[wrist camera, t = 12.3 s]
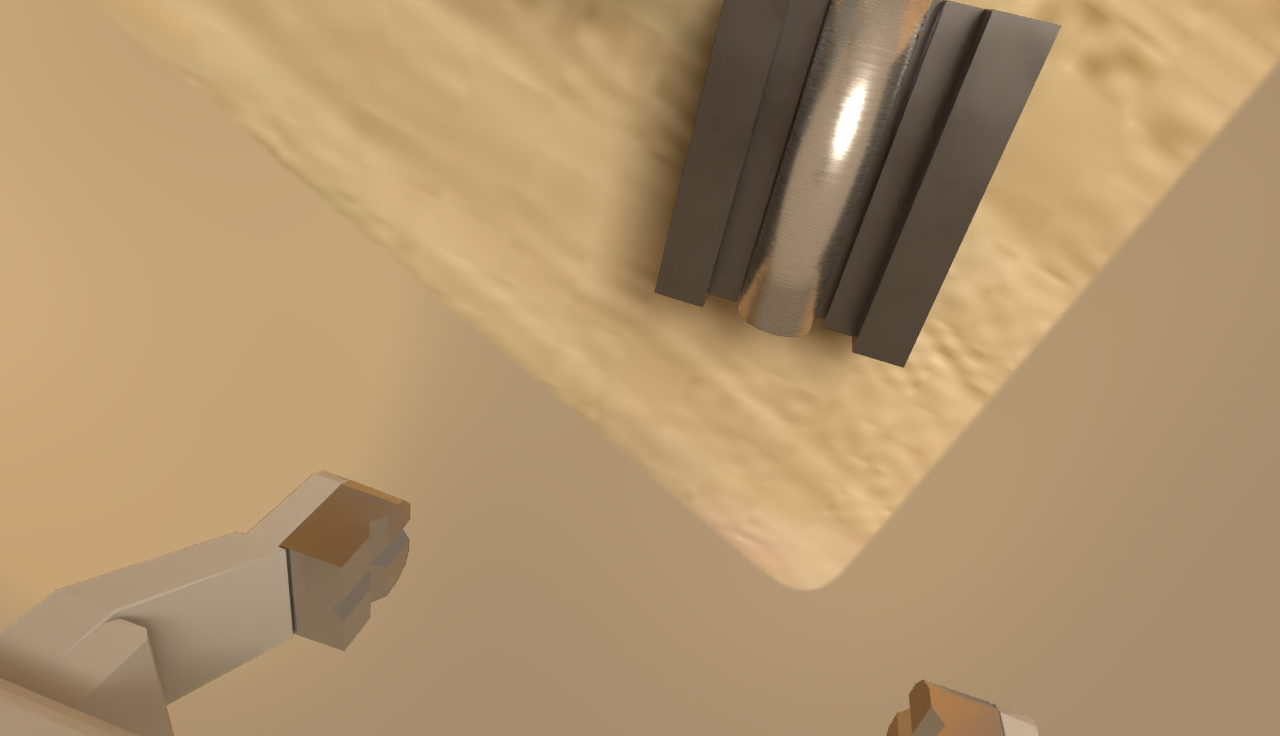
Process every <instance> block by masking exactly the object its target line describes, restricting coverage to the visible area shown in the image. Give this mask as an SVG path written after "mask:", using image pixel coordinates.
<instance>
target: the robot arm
mask: <svg viewBox="0 0 1280 736" xmlns="http://www.w3.org/2000/svg"><path fill="white" fill-rule="evenodd" d="M409 520H410V504H409V503H408V502H406V501H404V500H402V499H399V498H397V497H394V496H391V495H389V494H386V493H383V492H381V491H378V490H375V489H373V488H370V487H367V486H365V485H362V484H360V483H357V482H354V481H352V480H348V479H345V478H342V477H340V476H337V475H334V474H332V473H329V472H326V471H320V472H318V473H315V474H313V475H311V476H310V477H309V478H308V479H307V480H306V481H305V482H304V483H302V484H301V485H300V486H299V487H298V488H297V489H296V490H294V491H293V492H292V493H291V494H290V495H289V496H288V497H287V498H286V499H284V500H283V501H282V502H281V503H280V504H279V505H278V506H277V507H276V508H275V509H273V510H272V511H271V512H270V513H269V514H268V515H267V516H265V517H264V518H263V519H262V520H261V521H260V522H259V523H258V524H257V525H256V526H254V527H253V528H252V529H251V530H250V531H249V532H248V533H247V534H242V533H240V532H234V533H231V534H228V535H225V536H222V537H219V538H216V539H212V540H209V541H206V542H203V543H200V544H197V545H194V546H191V547H188V548H185V549H182V550H179V551H175V552H172V553H169V554H166V555H163V556H160V557H157V558H154V559H151V560H148V561H144V562H141V563H138V564H135V565H132V566H129V567H126V568H123V569H120V570H117V571H113V572H111V573H107V574H104V575H101V576H98V577H95V578H92V579H89V580H86V581H82V582H79V583H77V584H73V585H70V586H67V587H64V588H61V589H58V590H56V591H55V592H53V593H52V594H50V595H49V596H48V597H46V598H45V599H44V600H42V601H41V602H40V603H38V604H37V605H36V606H35V607H33V608H32V609H31V610H29V611H28V612H27V613H25V614H24V615H23V616H21V617H20V618H19V619H17V620H16V621H15V622H13V623H12V624H11V625H9V626H8V627H7V628H6V629H4V630H3V631H1V632H0V736H174V734H173V730H172V726H171V722H170V718H169V714H168V710H167V707H166V705H168V704H170V703H172V702H174V701H175V700H177V699H179V698H181V697H183V696H185V695H186V694H188V693H190V692H192V691H194V690H196V689H198V688H199V687H201V686H203V685H205V684H206V683H209V682H210V681H212V680H214V679H216V678H218V677H220V676H222V675H223V674H225V673H227V672H229V671H231V670H233V669H235V668H236V667H238V666H240V665H242V664H243V663H246V662H247V661H249V660H251V659H253V658H255V657H257V656H258V655H260V654H262V653H264V652H266V651H268V650H270V649H271V648H273V647H275V646H277V645H279V644H281V643H283V642H284V641H286V640H288V639H290V638H292V637H293V633H294V634H297V635H300V636H303V637H306V638H309V639H311V640H314V641H317V642H320V643H323V644H326V645H329V646H332V647H334V648H337V649H340V650H343V651H345V649H346V648H347V647H348V646H349V644H350V643H351V642H352V641H353V639H354V638H355V637H356V635H357V634H358V633H359V631H360V630H361V629H362V627H363V626H364V625H365V624H366V622H367V621H368V620H369V618H370V603H371V602H374V601H376V600H378V599H380V598H383V597H385V596H387V595H388V593H389V592H390V591H391V589H392V588H393V586H394V585H395V584H396V582H397V581H398V579H399V576H400V575H401V572H402V570H403V568H404V566H405V564H406V560H407V556H408V552H409V538H408V537H407V535H406V534H405V532H404V530H403V527H404V526H405V525H406V524H407V523H408V521H409ZM909 702H910V709H907V710H904V711H901V712H898V713H897V714H896V716H895V717H894V719H893V721H892V723H891V724H890V726H889V728H888V732H887V736H1039V735H1038V731H1037V728H1036V724H1035V722H1034V721H1033V720H1032V718H1031V717H1030V716H1028V715H1025V714H1022V713H1019V712H1016V711H1013V710H1011V709H1008V708H1005V707H1002V706H999V705H996V704H991V703H990V702H988V701H985V700H982V699H979V698H976V697H973V696H970V695H967V694H964V693H961V692H958V691H955V690H952V689H949V688H946V687H943V686H940V685H937V684H934V683H931V682H928V681H925V680H921V681H920V682H918V683H916V684H915V686H914V687H913V689H912V690H911V692H910V693H909Z"/></svg>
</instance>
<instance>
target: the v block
mask: <svg viewBox="0 0 1280 736" xmlns="http://www.w3.org/2000/svg"><path fill="white" fill-rule="evenodd" d="M831 2H832V0H724V3H723V7H722V11H721V15H720V19H719V24H718V28H717V32H716V36H715V41H714V45H713V49H712V53H711V57H710V62H709V66H708V70H707V74H706V78H705V83H704V87H703V91H702V95H701V100H700V104H699V108H698V112H697V116H696V121H695V125H694V129H693V133H692V137H691V142H690V146H689V150H688V154H687V159H686V163H685V167H684V171H683V175H682V180H681V184H680V188H679V192H678V196H677V201H676V205H675V209H674V213H673V217H672V222H671V226H670V230H669V234H668V239H667V243H666V247H665V251H664V255H663V260H662V264H661V268H660V272H659V276H658V281H657V285H656V289H655V293H658V294H661V295H664V296H668V297H671V298H674V299H678V300H681V301H684V302H688V303H691V304H694V305H698V306H701V307H703V305H704V303H705V301H706V299H707V297H708V295H709V294H712V295H716V296H719V297H722V298H726V299H729V300H732V301H736V302H737V301H738V298H739V295H740V293H741V294H742V293H743V289H744V286H745V283H746V280H747V276H748V273H749V270H750V267H751V263H752V260H753V257H754V254H755V250H756V247H757V244H758V240H759V237H760V234H761V231H762V227H763V224H764V221H765V218H766V214H767V211H768V208H769V205H770V201H771V198H772V195H773V191H774V188H775V185H776V182H777V178H778V175H779V172H780V169H781V165H782V162H783V159H784V156H785V152H786V149H787V146H788V142H789V139H790V136H791V133H792V129H793V126H794V123H795V120H796V116H797V113H798V110H799V107H800V103H801V100H802V97H803V93H804V90H805V87H806V84H807V80H808V77H809V74H810V71H811V67H812V64H813V61H814V57H815V54H816V51H817V48H818V44H819V41H820V38H821V35H822V31H823V28H824V25H825V22H826V18H827V15H828V12H829V8H830V5H831ZM1060 28H1061V25H1057V24H1052V23H1048V22H1044V21H1040V20H1035V19H1031V18H1027V17H1023V16H1018V15H1014V14H1010V13H1006V12H1001V11H997V10H990V9H982V8H977V7H973V6H969V5H965V4H960V3H956V2H952V1H948V0H932V2H931V5H930V7H929V10H928V13H927V16H926V18H925V21H924V24H923V26H922V29H921V32H920V35H919V37H918V40H917V43H916V45H915V48H914V51H913V53H912V56H911V59H910V62H909V64H908V67H907V70H906V72H905V75H904V78H903V80H902V83H901V86H900V89H899V91H898V94H897V97H896V99H895V102H894V105H893V107H892V110H891V113H890V116H889V118H888V121H887V124H886V126H885V129H884V132H883V134H882V137H881V140H880V143H879V145H878V148H877V151H876V153H875V156H874V159H873V161H872V164H871V167H870V170H869V172H868V175H867V178H866V180H865V183H864V186H863V188H862V191H861V194H860V197H859V199H858V202H857V205H856V207H855V210H854V213H853V215H852V218H851V221H850V224H849V226H848V229H847V232H846V234H845V237H844V240H843V242H842V245H841V248H840V251H839V253H838V256H837V259H836V261H835V264H834V267H833V269H832V272H831V275H830V278H829V280H828V283H827V286H826V288H825V291H824V294H823V296H822V299H821V302H820V305H819V307H818V310H817V313H816V315H815V316H819V317H822V318H823V328H826V329H830V330H833V331H836V332H840V333H843V334H846V335H850V336H852V352H854V353H857V354H860V355H864V356H867V357H870V358H874V359H877V360H880V361H884V362H887V363H890V364H893V365H897V366H900V367H903V368H904V366H905V364H906V362H907V359H908V357H909V355H910V353H911V351H912V349H913V346H914V344H915V342H916V340H917V338H918V336H919V333H920V331H921V329H922V327H923V325H924V323H925V320H926V318H927V316H928V314H929V312H930V310H931V307H932V305H933V303H934V301H935V299H936V297H937V294H938V292H939V290H940V288H941V286H942V284H943V281H944V279H945V277H946V275H947V273H948V271H949V268H950V266H951V264H952V262H953V260H954V258H955V255H956V253H957V251H958V249H959V247H960V245H961V242H962V240H963V238H964V236H965V234H966V232H967V229H968V227H969V225H970V223H971V221H972V218H973V216H974V214H975V212H976V210H977V208H978V205H979V203H980V201H981V199H982V197H983V195H984V192H985V190H986V188H987V186H988V184H989V182H990V179H991V177H992V175H993V173H994V171H995V169H996V166H997V164H998V162H999V160H1000V158H1001V156H1002V153H1003V151H1004V149H1005V147H1006V145H1007V143H1008V140H1009V138H1010V136H1011V134H1012V132H1013V130H1014V127H1015V125H1016V123H1017V121H1018V119H1019V117H1020V114H1021V112H1022V110H1023V108H1024V106H1025V104H1026V101H1027V99H1028V97H1029V95H1030V93H1031V91H1032V88H1033V86H1034V84H1035V82H1036V80H1037V78H1038V75H1039V73H1040V71H1041V69H1042V67H1043V65H1044V62H1045V60H1046V58H1047V56H1048V54H1049V52H1050V49H1051V47H1052V45H1053V43H1054V41H1055V39H1056V36H1057V34H1058V32H1059V30H1060Z"/></svg>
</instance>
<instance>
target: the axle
mask: <svg viewBox="0 0 1280 736" xmlns="http://www.w3.org/2000/svg"><path fill="white" fill-rule="evenodd" d="M931 2H932V0H832V2H831V5H830V8H829V12H828V15H827V18H826V22H825V25H824V28H823V31H822V35H821V38H820V41H819V44H818V48H817V51H816V54H815V57H814V61H813V64H812V67H811V71H810V74H809V77H808V80H807V84H806V87H805V90H804V93H803V97H802V100H801V103H800V107H799V110H798V113H797V116H796V120H795V123H794V126H793V129H792V133H791V136H790V139H789V142H788V146H787V149H786V152H785V156H784V159H783V162H782V165H781V169H780V172H779V175H778V178H777V182H776V185H775V188H774V191H773V195H772V198H771V201H770V205H769V208H768V211H767V214H766V218H765V221H764V224H763V227H762V231H761V234H760V237H759V240H758V244H757V247H756V250H755V254H754V257H753V260H752V263H751V267H750V270H749V273H748V276H747V280H746V283H745V286H744V289H743V293H742V296H741V299H740V303H739V306H738V313H739V315H740V316H741V317H742V318H743V319H744V320H745V321H746V322H748V323H749V324H751V325H752V326H754V327H756V328H758V329H760V330H763V331H765V332H768V333H772V334H775V335H780V336H787V337H799V336H803V335H806V334H807V333H809V331H810V329H811V326H812V323H813V321H814V318H815V315H816V313H817V310H818V307H819V305H820V302H821V299H822V296H823V294H824V291H825V288H826V286H827V283H828V280H829V278H830V275H831V272H832V269H833V267H834V264H835V261H836V259H837V256H838V253H839V251H840V248H841V245H842V242H843V240H844V237H845V234H846V232H847V229H848V226H849V224H850V221H851V218H852V215H853V213H854V210H855V207H856V205H857V202H858V199H859V197H860V194H861V191H862V188H863V186H864V183H865V180H866V178H867V175H868V172H869V170H870V167H871V164H872V161H873V159H874V156H875V153H876V151H877V148H878V145H879V143H880V140H881V137H882V134H883V132H884V129H885V126H886V124H887V121H888V118H889V116H890V113H891V110H892V107H893V105H894V102H895V99H896V97H897V94H898V91H899V89H900V86H901V83H902V80H903V78H904V75H905V72H906V70H907V67H908V64H909V62H910V59H911V56H912V53H913V51H914V48H915V45H916V43H917V40H918V37H919V35H920V32H921V29H922V26H923V24H924V21H925V18H926V16H927V13H928V10H929V7H930V5H931Z"/></svg>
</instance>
